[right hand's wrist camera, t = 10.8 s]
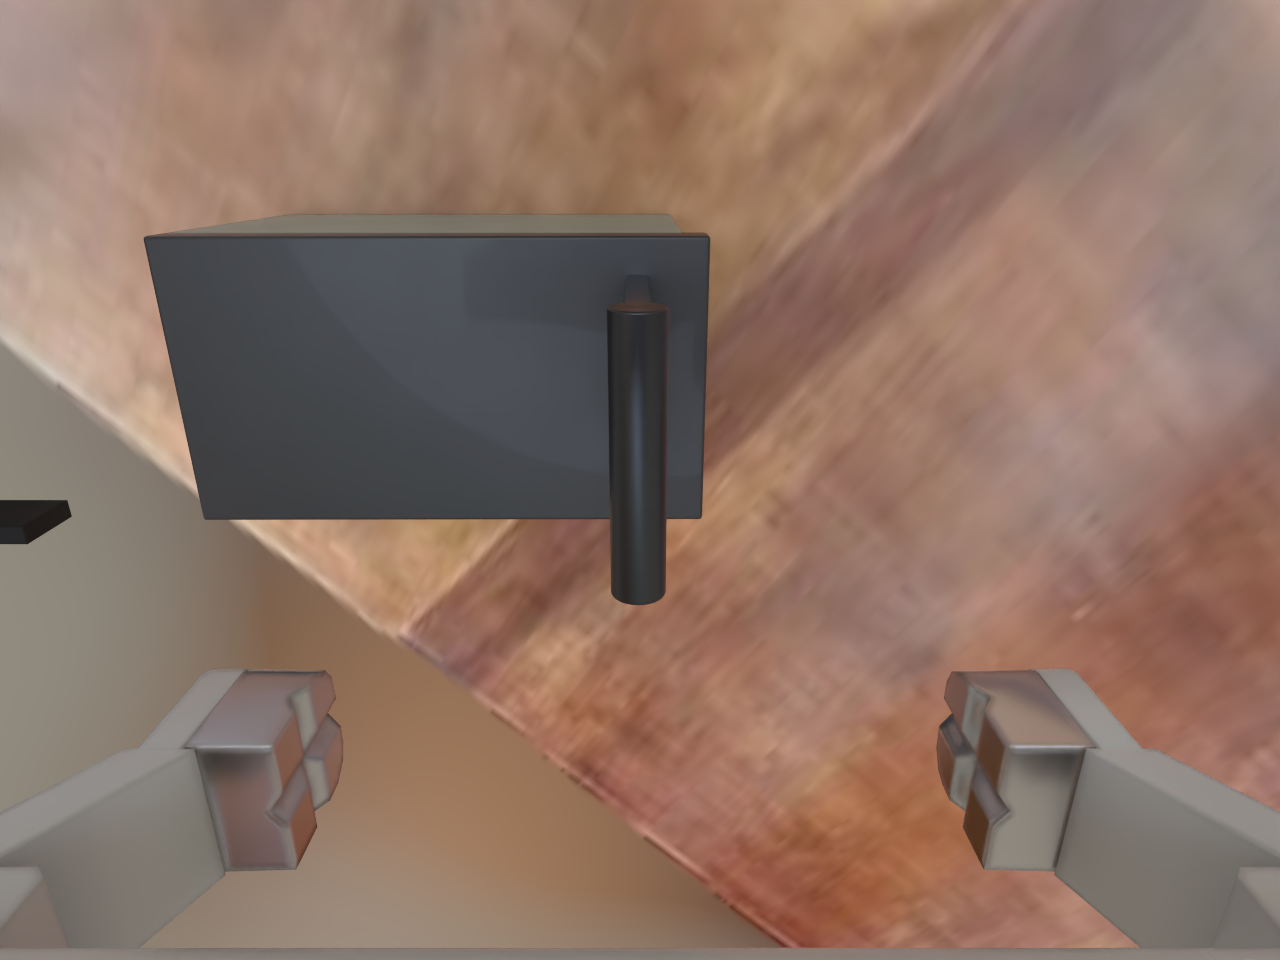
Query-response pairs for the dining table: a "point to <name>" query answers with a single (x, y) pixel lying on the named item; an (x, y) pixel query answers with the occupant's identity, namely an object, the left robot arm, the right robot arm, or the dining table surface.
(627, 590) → the lid
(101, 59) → the dining table surface
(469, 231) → the chest
